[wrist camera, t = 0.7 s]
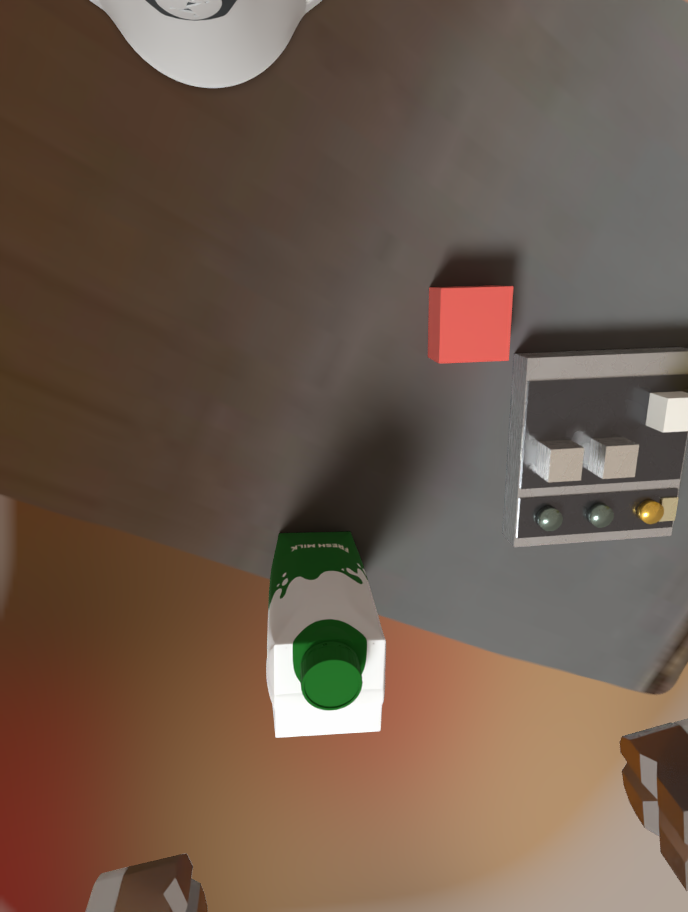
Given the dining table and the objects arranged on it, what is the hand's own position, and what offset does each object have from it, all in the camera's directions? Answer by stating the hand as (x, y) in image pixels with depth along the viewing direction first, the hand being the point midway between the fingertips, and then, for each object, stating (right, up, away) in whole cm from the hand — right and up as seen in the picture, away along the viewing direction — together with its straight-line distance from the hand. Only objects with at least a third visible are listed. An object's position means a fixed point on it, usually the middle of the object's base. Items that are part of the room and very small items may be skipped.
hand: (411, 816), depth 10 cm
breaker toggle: (+28, +11, +41) cm, 51 cm away
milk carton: (-4, -4, +46) cm, 46 cm away
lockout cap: (+9, +18, +40) cm, 45 cm away
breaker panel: (+22, +8, +45) cm, 51 cm away
